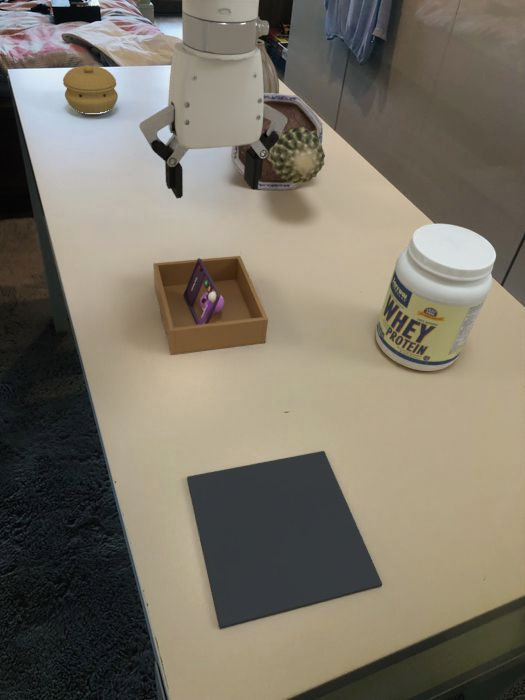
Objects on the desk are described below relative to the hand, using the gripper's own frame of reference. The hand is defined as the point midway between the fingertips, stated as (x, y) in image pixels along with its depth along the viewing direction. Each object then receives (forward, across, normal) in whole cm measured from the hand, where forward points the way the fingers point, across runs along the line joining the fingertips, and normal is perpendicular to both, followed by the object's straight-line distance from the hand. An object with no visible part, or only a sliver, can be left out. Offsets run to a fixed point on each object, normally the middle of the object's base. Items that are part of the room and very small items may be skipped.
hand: (214, 188), depth 68 cm
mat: (+19, +4, +35) cm, 41 cm away
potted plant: (+19, -24, -32) cm, 44 cm away
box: (+19, +1, +1) cm, 19 cm away
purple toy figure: (+19, +1, +1) cm, 19 cm away
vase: (+19, -32, -66) cm, 76 cm away
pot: (+19, +3, -77) cm, 80 cm away
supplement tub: (+20, -26, +16) cm, 36 cm away
